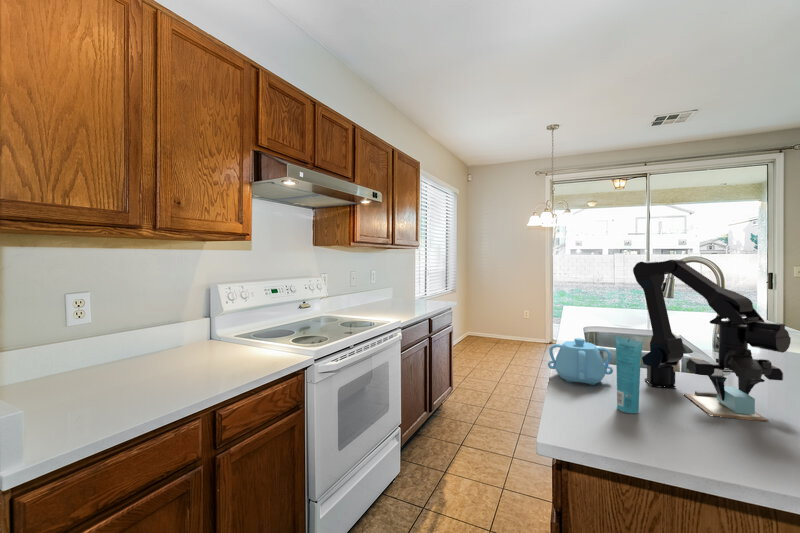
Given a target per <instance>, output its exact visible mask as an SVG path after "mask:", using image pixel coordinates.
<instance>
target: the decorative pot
mask: <svg viewBox="0 0 800 533" xmlns="http://www.w3.org/2000/svg"><path fill="white" fill-rule="evenodd" d="M573 340H574V341H571V340H568V341H564V342H563V343H562V344H559V343H553V344H552V345H551V346H550V347H549V349H548V350H549V351H548V352H549V356H550V359H551V360H549V361H548V363H547V367H548V368H549V369H550V370H555V372H556V373H557V374H558V375H559V377H560V378H561V379H564V380H565V382H566V383H570V384H571V383H572V384H573V383H575V382H576V383H585V384H587V385H591V386H596V385H597V384H598V383H600V382H601V381H602V380H603V379H604V378H605V376H606V375H608V376H609V375H612V374H613V372H614V369H613V368H612V366H610V363H611V360H612V357H613V356H612V352H611V350H609V349H608V348H606V347H603V346H602V347H600V346H599V347H597V345H595V344H594V343H591V342H586V339H584V338H579V337H576V338H573ZM556 348H559V350H558V352H557V354H556V356H554V349H556ZM601 351H603V352H606V353H607V359H606V361H604V358H603V356H602V355H601ZM551 364H552V365H551ZM607 369H609V371H608V370H607Z"/></svg>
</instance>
